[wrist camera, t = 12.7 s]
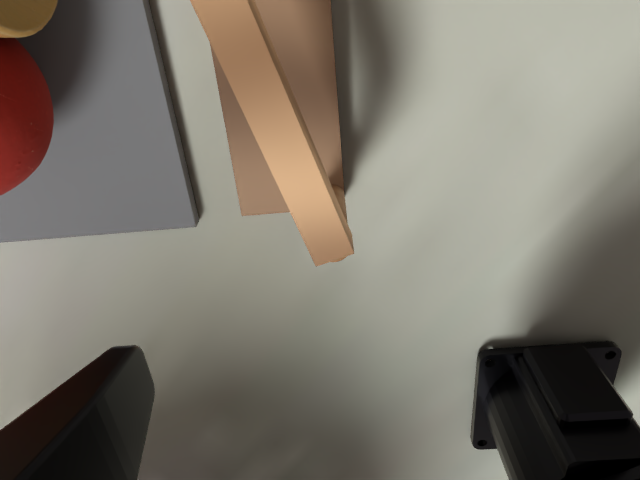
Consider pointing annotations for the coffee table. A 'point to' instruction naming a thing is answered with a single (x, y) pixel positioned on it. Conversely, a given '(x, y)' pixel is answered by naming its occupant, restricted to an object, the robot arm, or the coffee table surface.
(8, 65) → the kendama
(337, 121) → the tan wooden frame
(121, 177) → the mat
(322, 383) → the coffee table surface
